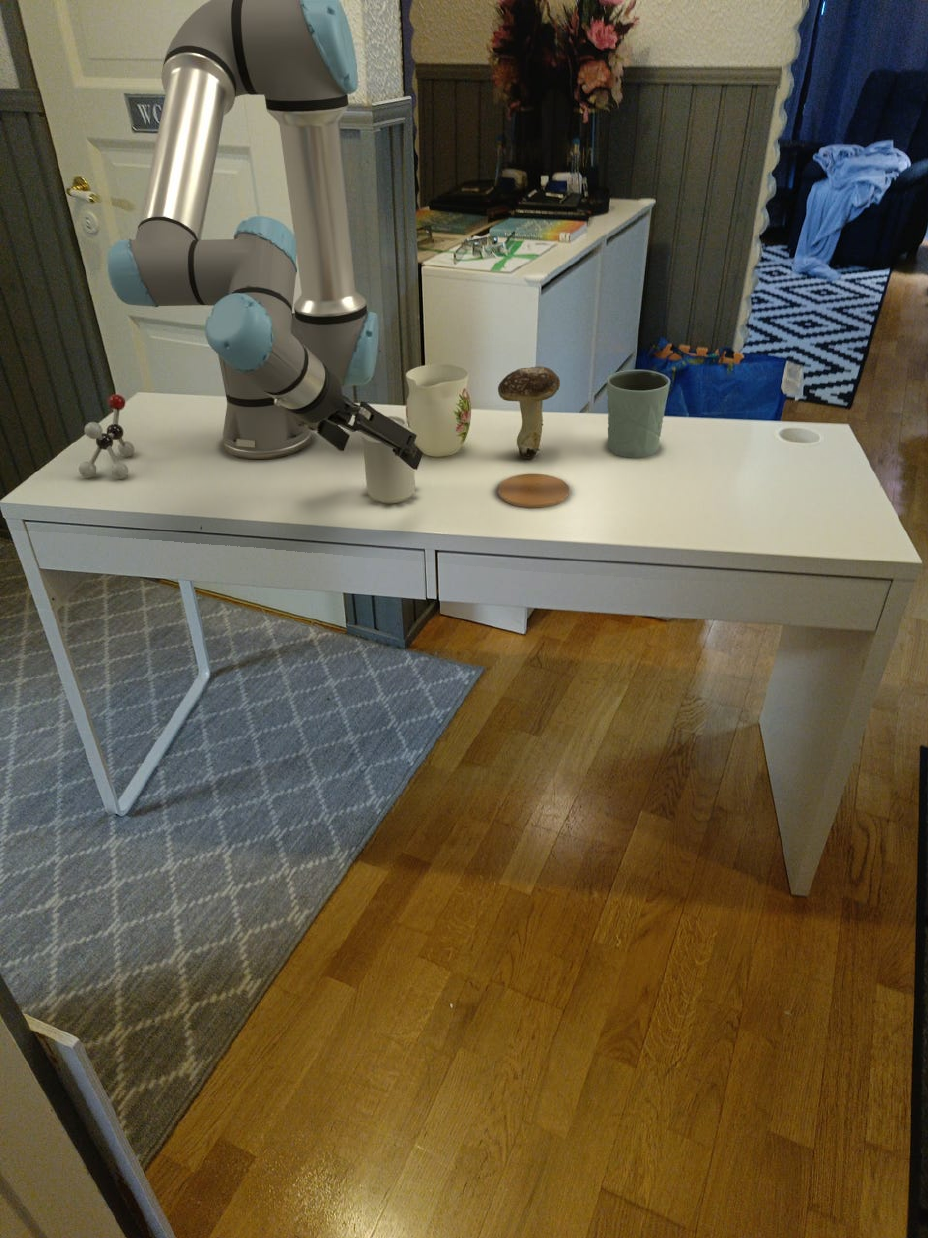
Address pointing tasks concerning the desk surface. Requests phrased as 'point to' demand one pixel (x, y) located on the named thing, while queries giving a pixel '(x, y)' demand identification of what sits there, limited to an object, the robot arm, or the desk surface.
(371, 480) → the can
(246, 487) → the desk surface
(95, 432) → the molecular model
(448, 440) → the pitcher
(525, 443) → the mushroom
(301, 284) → the robot arm
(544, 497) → the coaster
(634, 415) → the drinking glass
